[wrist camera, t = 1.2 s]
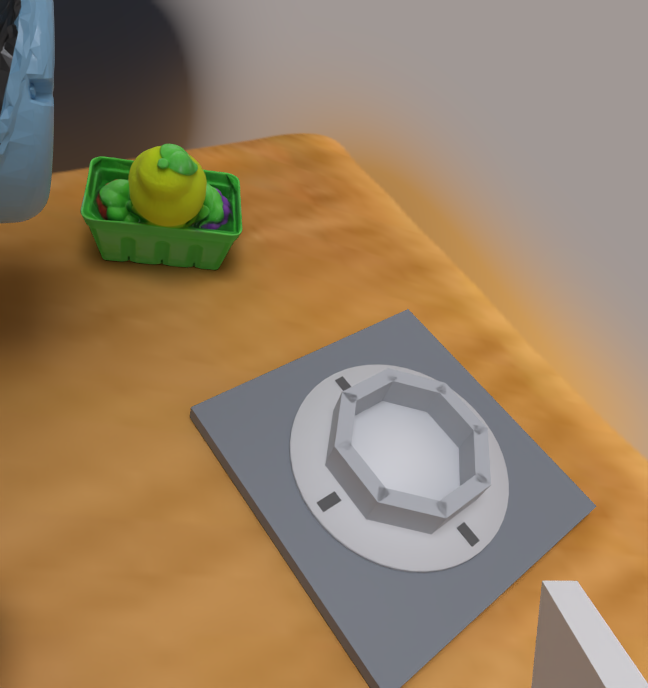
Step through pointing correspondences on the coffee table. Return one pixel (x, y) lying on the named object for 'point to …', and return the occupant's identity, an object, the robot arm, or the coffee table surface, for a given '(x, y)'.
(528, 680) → the coffee table surface
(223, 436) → the board
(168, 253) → the fruit basket
